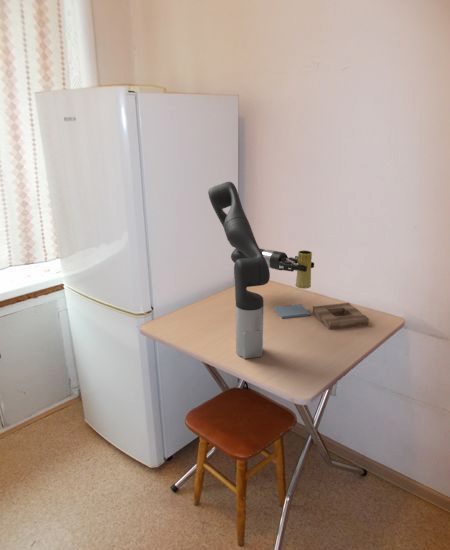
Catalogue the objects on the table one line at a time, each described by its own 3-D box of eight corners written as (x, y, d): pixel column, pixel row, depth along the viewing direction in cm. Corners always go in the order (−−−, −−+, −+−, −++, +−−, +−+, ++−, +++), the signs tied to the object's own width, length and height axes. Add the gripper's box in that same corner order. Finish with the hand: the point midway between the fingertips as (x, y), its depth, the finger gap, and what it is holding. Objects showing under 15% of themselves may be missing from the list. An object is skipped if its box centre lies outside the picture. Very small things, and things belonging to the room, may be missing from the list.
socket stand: (368, 325, 164) (368, 318, 163) (329, 329, 160) (330, 322, 159) (348, 309, 178) (348, 302, 177) (312, 313, 175) (312, 306, 174)
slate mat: (309, 315, 173) (310, 313, 173) (282, 318, 171) (282, 316, 170) (300, 306, 182) (300, 304, 182) (274, 309, 180) (274, 306, 180)
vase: (313, 285, 171) (316, 251, 166) (305, 289, 167) (307, 255, 162) (301, 282, 175) (302, 249, 170) (292, 286, 171) (294, 252, 166)
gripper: (264, 254, 170) (301, 262, 160) (282, 247, 181) (319, 254, 171) (263, 272, 173) (300, 281, 163) (282, 264, 183) (317, 271, 173)
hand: (310, 267), depth 167 cm, fingers closed on vase, 5 cm apart
